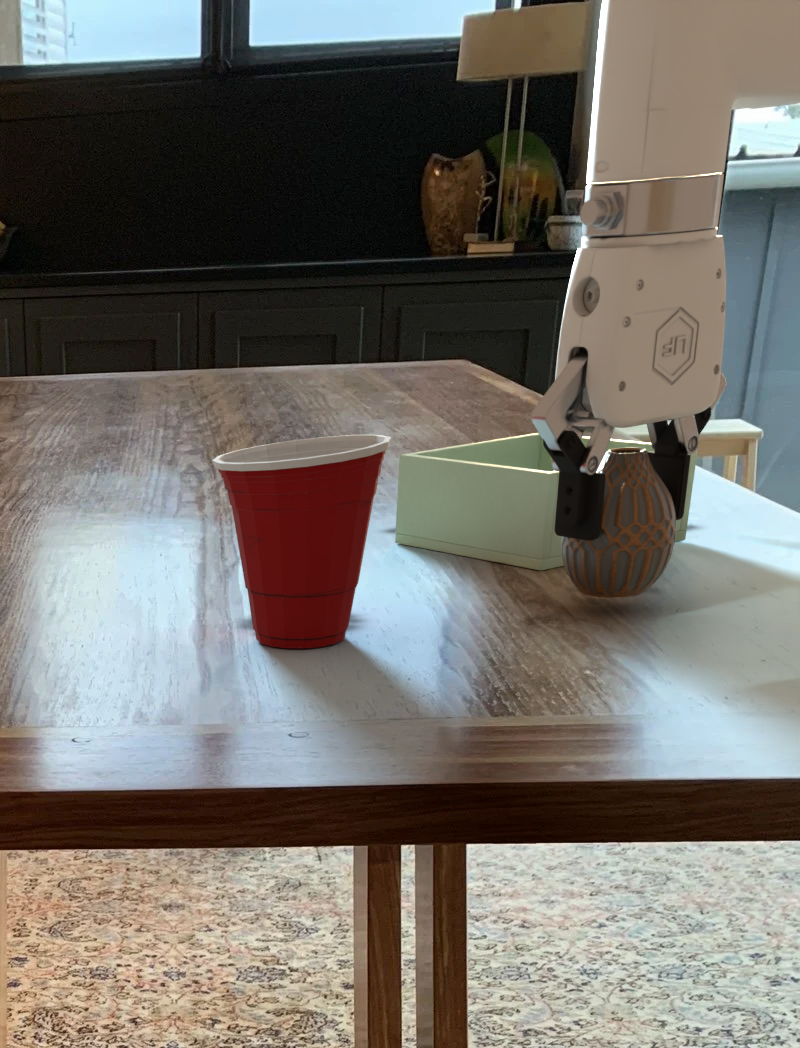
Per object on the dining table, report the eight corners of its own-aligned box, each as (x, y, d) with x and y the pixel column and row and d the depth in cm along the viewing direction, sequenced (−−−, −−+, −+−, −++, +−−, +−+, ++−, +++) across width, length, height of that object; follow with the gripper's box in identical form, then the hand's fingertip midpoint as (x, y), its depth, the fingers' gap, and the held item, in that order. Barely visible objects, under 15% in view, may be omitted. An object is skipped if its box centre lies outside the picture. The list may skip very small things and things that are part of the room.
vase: (624, 574, 104) (638, 437, 99) (692, 593, 98) (710, 449, 94) (535, 588, 102) (546, 450, 98) (599, 609, 96) (614, 463, 92)
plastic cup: (247, 614, 105) (248, 429, 99) (402, 623, 100) (413, 429, 95) (187, 653, 97) (184, 454, 91) (353, 665, 92) (361, 455, 86)
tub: (533, 516, 130) (541, 431, 127) (685, 540, 118) (698, 447, 115) (394, 543, 124) (399, 454, 120) (540, 571, 111) (549, 473, 108)
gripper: (596, 225, 83) (567, 559, 91) (803, 201, 90) (759, 512, 99) (494, 229, 89) (476, 542, 97) (697, 206, 96) (663, 500, 104)
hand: (619, 525), depth 98 cm, fingers closed on vase, 6 cm apart
